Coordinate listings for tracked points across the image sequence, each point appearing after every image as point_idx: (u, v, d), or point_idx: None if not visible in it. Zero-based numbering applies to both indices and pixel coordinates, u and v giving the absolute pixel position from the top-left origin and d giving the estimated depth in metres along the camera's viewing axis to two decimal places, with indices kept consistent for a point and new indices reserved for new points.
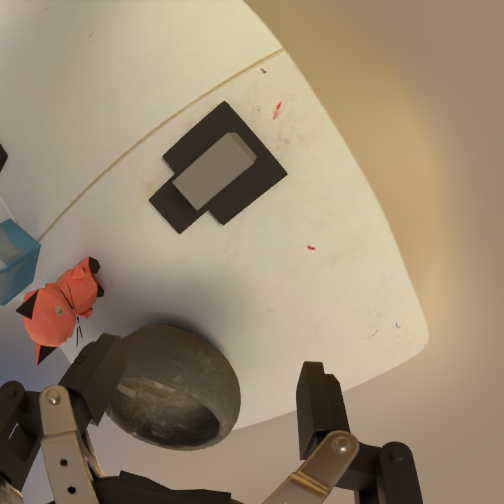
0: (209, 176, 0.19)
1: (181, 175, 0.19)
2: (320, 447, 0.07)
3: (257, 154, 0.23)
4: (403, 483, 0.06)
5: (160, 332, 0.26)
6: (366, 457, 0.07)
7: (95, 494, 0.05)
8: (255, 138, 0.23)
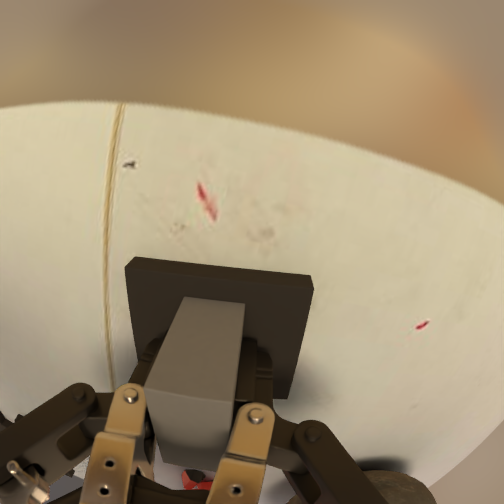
0: (194, 444, 0.09)
1: (163, 454, 0.09)
2: (237, 423, 0.08)
3: (242, 299, 0.12)
4: (332, 458, 0.07)
5: None
6: (284, 433, 0.08)
7: None
8: (216, 281, 0.12)
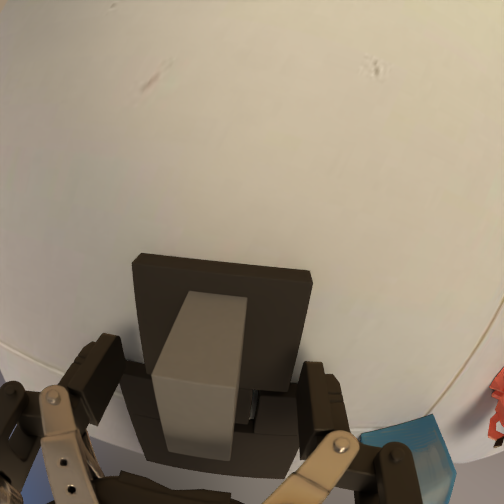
0: (199, 431, 0.09)
1: (168, 443, 0.10)
2: (320, 447, 0.07)
3: (245, 293, 0.13)
4: (403, 483, 0.06)
5: None
6: (366, 457, 0.07)
7: (95, 494, 0.05)
8: (220, 276, 0.13)
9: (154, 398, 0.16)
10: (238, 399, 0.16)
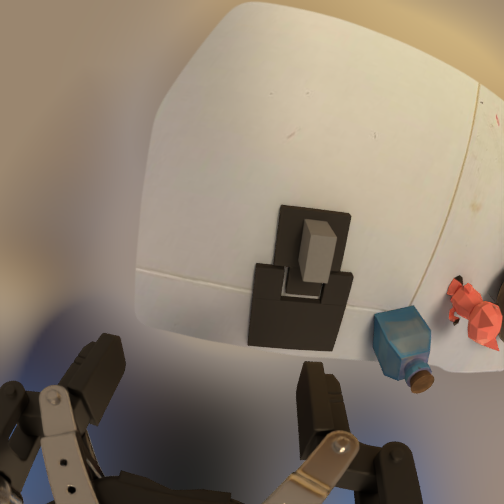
0: (320, 262, 0.29)
1: (305, 274, 0.30)
2: (320, 447, 0.07)
3: (326, 220, 0.33)
4: (403, 483, 0.06)
5: None
6: (366, 457, 0.07)
7: (95, 494, 0.05)
8: (317, 212, 0.33)
9: (273, 282, 0.36)
10: None
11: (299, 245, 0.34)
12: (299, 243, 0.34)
